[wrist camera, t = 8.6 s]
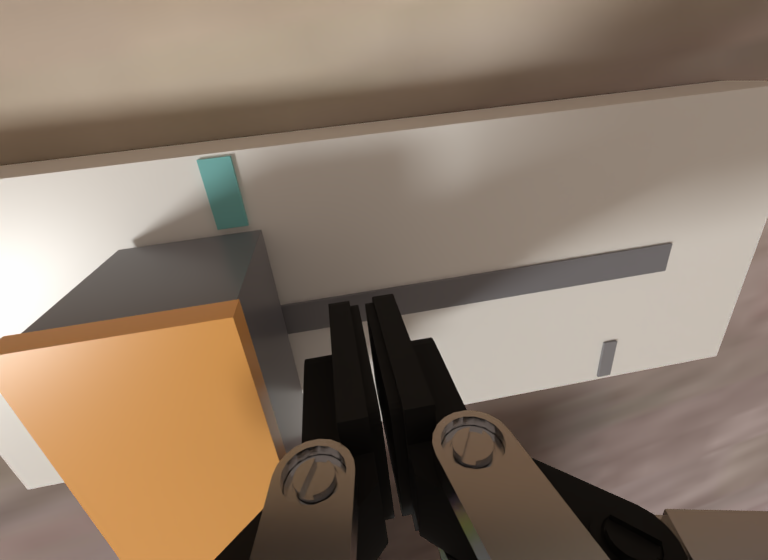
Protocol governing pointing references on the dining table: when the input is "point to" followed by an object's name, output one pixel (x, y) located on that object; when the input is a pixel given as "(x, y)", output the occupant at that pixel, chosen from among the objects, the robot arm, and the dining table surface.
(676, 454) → the dining table surface
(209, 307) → the fader knob
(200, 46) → the dining table surface
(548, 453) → the dining table surface
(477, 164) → the fader console
